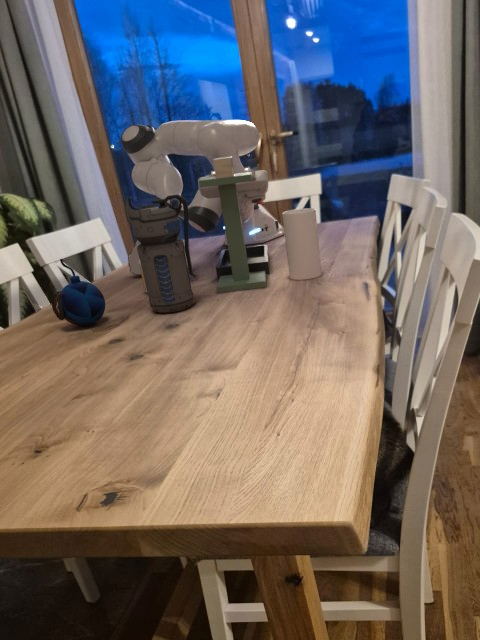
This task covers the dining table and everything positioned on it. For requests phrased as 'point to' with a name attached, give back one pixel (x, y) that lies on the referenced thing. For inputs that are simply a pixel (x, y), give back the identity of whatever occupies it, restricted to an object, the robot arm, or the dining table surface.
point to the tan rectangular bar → (223, 167)
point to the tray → (255, 257)
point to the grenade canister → (163, 252)
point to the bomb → (78, 302)
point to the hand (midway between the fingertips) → (230, 171)
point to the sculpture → (134, 260)
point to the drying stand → (234, 235)
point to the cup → (302, 243)
